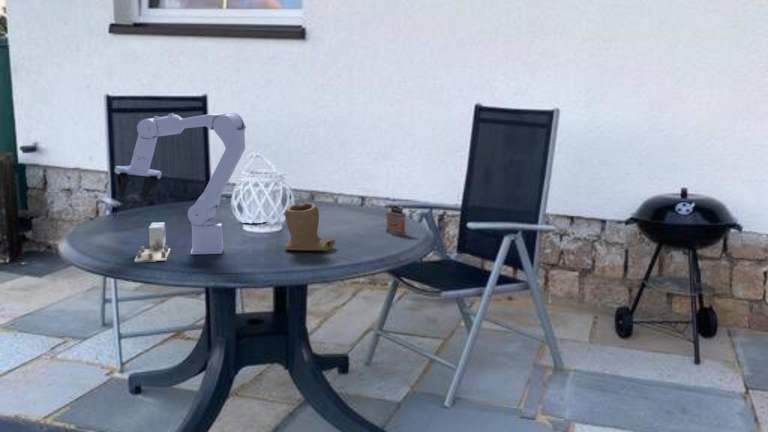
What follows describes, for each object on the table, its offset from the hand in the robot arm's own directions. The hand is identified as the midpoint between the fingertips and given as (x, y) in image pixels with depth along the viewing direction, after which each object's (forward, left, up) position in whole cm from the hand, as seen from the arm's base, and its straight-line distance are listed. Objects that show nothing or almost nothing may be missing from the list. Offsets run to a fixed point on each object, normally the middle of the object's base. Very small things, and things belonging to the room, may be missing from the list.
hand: (131, 196), depth 247 cm
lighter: (-86, -12, -16) cm, 88 cm away
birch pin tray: (-7, +12, -16) cm, 21 cm away
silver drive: (-7, -1, -16) cm, 18 cm away
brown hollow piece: (-54, +10, -17) cm, 57 cm away
